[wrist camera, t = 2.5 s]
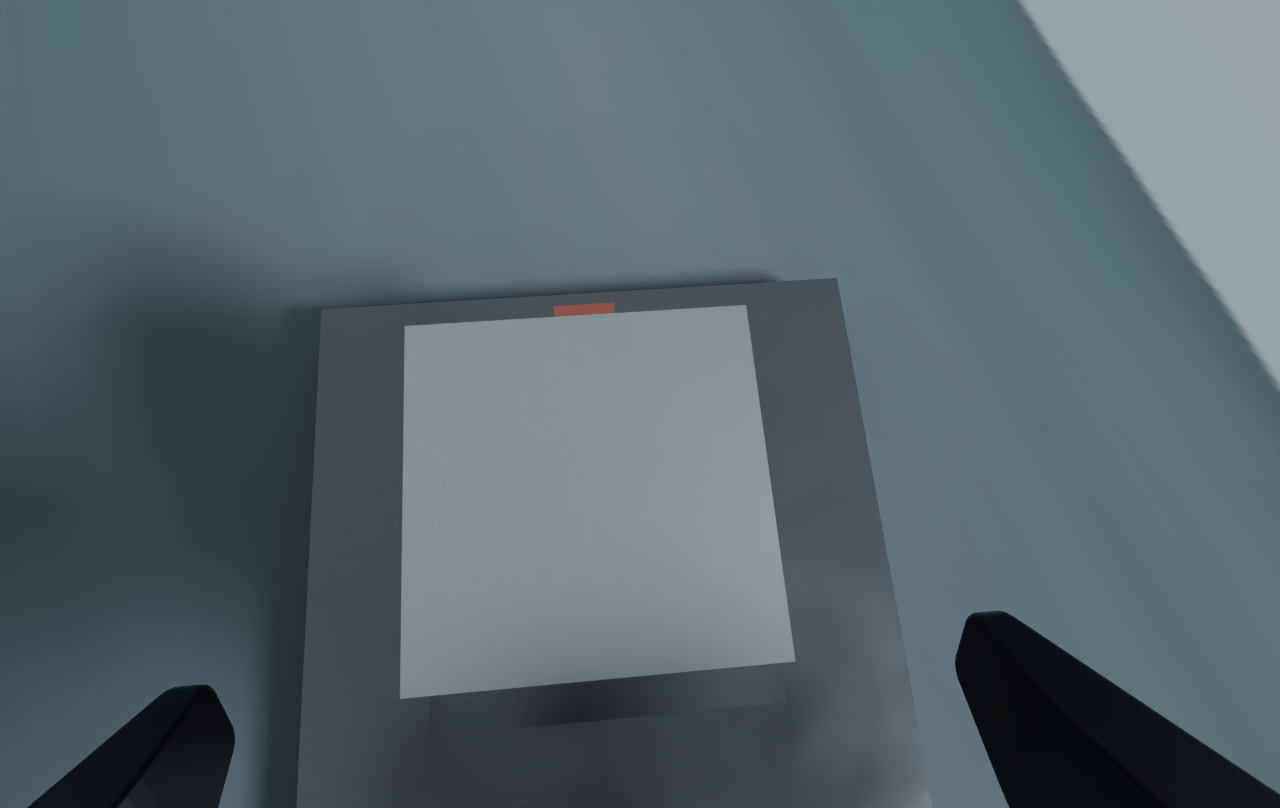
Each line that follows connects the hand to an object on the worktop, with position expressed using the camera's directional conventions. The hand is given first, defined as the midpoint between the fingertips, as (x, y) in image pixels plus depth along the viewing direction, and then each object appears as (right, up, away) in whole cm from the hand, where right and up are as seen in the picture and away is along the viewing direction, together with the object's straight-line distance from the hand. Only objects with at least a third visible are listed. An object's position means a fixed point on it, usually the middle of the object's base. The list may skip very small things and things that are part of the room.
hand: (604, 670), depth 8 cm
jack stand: (-1, -1, +10) cm, 10 cm away
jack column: (0, 0, +8) cm, 8 cm away
